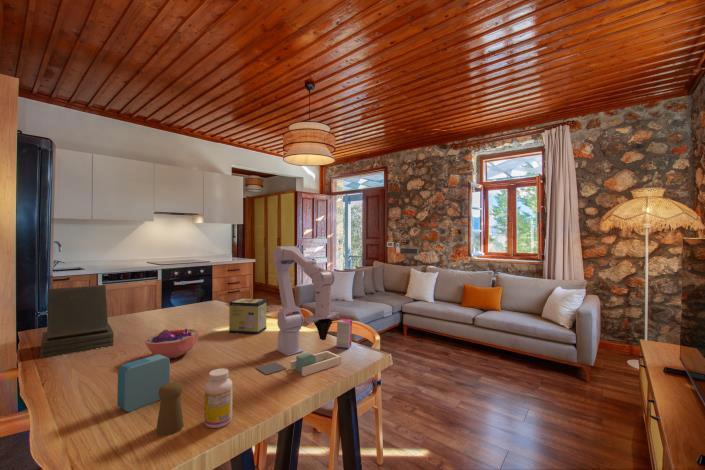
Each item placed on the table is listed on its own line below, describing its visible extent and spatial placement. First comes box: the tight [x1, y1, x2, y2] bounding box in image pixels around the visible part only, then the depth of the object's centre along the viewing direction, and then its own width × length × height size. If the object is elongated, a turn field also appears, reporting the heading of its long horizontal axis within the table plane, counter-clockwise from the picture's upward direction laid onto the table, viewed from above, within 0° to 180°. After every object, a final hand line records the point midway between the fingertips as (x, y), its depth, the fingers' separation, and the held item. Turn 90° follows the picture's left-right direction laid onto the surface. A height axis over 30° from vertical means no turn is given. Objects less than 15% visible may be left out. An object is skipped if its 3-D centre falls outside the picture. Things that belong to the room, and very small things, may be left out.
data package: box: [116, 355, 171, 413], centre depth 94 cm, size 12×4×12 cm, turn 148°
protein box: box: [228, 298, 267, 335], centre depth 167 cm, size 10×16×16 cm
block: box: [295, 352, 317, 373], centre depth 118 cm, size 5×5×5 cm
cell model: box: [143, 328, 199, 360], centre depth 131 cm, size 17×20×11 cm
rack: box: [289, 350, 342, 377], centre depth 121 cm, size 8×17×3 cm, turn 133°
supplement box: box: [335, 318, 353, 350], centre depth 144 cm, size 6×6×12 cm
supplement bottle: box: [204, 367, 233, 429], centre depth 84 cm, size 7×7×13 cm
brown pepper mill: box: [155, 381, 184, 437], centre depth 81 cm, size 6×6×11 cm
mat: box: [255, 361, 287, 376], centre depth 119 cm, size 8×8×1 cm
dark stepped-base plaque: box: [40, 284, 115, 359], centre depth 142 cm, size 23×20×25 cm
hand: (322, 339), depth 124 cm, fingers closed
